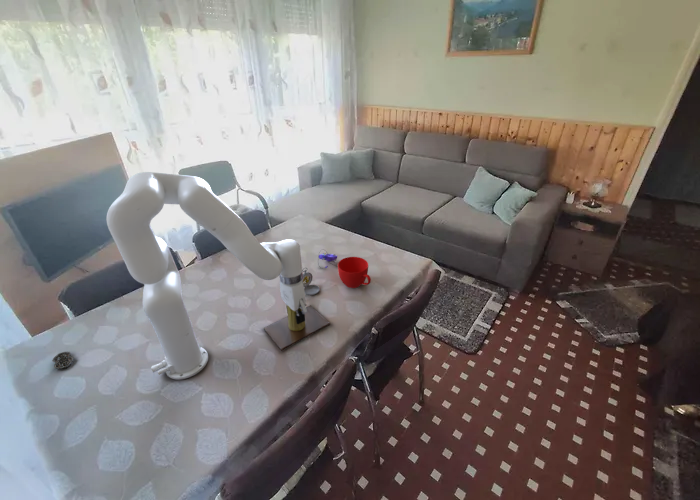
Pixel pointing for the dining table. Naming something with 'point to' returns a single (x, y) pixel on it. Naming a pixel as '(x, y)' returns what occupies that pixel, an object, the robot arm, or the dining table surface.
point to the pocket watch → (309, 288)
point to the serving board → (289, 337)
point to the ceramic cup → (353, 271)
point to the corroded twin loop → (62, 360)
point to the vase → (294, 320)
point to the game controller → (328, 257)
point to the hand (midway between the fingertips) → (296, 317)
